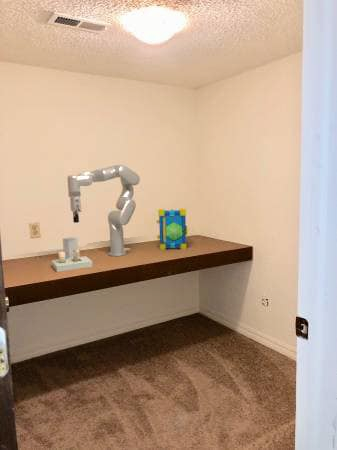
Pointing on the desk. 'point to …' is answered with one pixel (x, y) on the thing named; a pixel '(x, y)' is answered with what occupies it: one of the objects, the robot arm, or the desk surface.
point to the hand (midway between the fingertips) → (76, 222)
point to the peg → (76, 255)
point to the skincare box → (69, 246)
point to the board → (70, 263)
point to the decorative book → (172, 228)
